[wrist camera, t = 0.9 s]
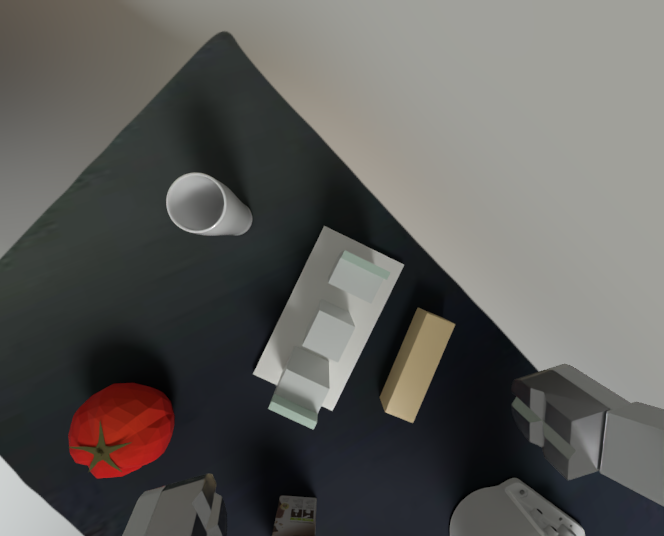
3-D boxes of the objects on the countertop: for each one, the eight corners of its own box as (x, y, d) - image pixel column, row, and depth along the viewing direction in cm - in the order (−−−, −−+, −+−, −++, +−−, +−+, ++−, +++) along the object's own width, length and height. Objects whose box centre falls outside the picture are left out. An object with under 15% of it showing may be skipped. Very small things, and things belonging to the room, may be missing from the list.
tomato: (101, 440, 49) (40, 491, 39) (109, 366, 49) (49, 397, 38) (183, 450, 50) (145, 503, 39) (192, 376, 49) (156, 410, 39)
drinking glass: (250, 192, 48) (216, 163, 33) (263, 233, 48) (235, 223, 33) (209, 204, 48) (156, 181, 33) (222, 245, 48) (175, 241, 33)
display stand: (402, 264, 49) (430, 268, 36) (332, 407, 50) (334, 461, 37) (324, 226, 49) (323, 215, 36) (254, 371, 49) (228, 413, 36)
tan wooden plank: (442, 317, 50) (455, 324, 45) (404, 406, 50) (412, 423, 45) (417, 307, 50) (427, 312, 45) (379, 396, 50) (385, 412, 45)
